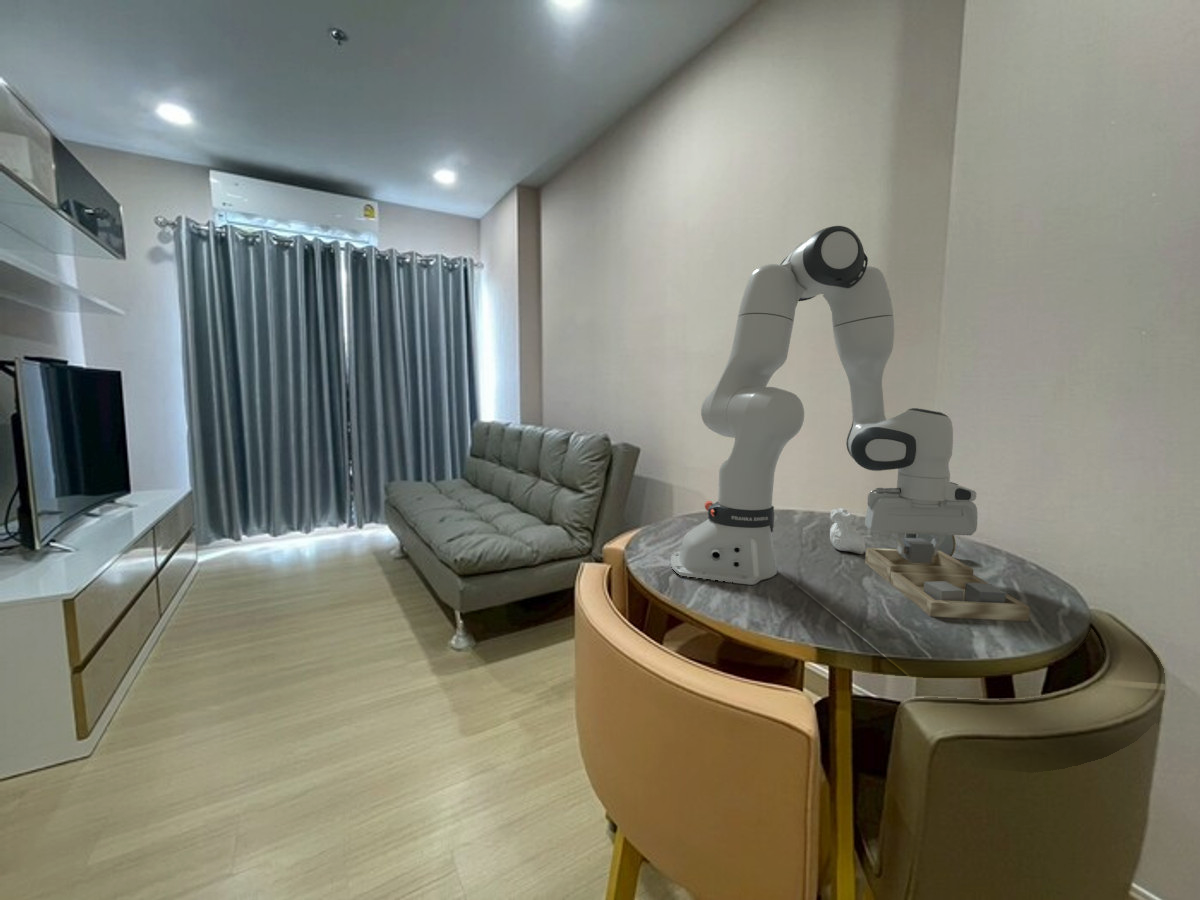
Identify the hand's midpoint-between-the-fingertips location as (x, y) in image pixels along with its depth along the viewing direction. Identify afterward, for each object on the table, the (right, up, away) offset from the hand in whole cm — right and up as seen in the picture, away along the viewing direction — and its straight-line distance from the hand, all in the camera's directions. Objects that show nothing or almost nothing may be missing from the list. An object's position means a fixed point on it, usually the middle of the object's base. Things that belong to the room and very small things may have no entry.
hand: (916, 554), depth 101 cm
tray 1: (0, -5, 0) cm, 5 cm away
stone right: (+1, -6, -16) cm, 17 cm away
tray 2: (-2, -6, -13) cm, 14 cm away
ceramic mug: (+11, -3, +14) cm, 18 cm away
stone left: (-6, -6, -16) cm, 18 cm away
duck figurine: (-6, -3, +17) cm, 19 cm away
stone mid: (0, -1, 0) cm, 1 cm away
